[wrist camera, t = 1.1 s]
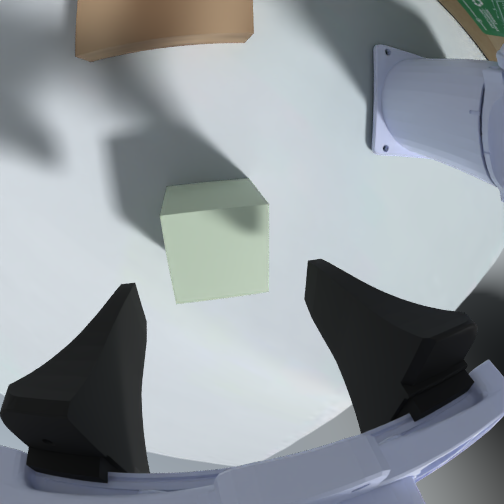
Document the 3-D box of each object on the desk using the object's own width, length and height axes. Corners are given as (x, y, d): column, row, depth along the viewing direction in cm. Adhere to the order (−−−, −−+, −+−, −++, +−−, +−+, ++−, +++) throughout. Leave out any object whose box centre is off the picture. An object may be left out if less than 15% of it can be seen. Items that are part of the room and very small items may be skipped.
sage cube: (248, 177, 18) (268, 204, 14) (250, 249, 20) (268, 291, 16) (166, 186, 17) (159, 215, 13) (177, 258, 19) (176, 304, 15)
